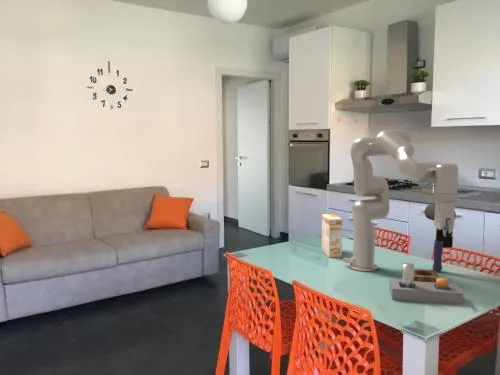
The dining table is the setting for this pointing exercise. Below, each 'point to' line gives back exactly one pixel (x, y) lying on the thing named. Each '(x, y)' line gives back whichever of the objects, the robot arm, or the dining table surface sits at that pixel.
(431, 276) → the brown open square box
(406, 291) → the socket block
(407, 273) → the silver metal cylinder
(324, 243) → the coffeecake box
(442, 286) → the release button
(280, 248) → the dining table surface
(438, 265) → the rubber mallet
